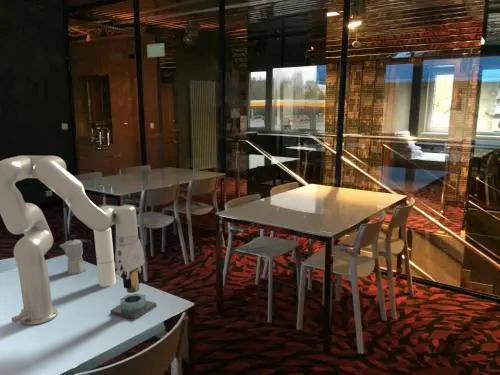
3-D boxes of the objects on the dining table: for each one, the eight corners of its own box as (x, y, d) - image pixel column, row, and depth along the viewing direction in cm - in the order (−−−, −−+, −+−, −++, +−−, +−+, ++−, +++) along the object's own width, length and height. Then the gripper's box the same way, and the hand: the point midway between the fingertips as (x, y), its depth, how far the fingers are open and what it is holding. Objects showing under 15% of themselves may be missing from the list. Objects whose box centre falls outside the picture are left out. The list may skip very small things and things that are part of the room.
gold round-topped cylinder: (133, 293, 159) (131, 273, 157) (124, 291, 161) (122, 271, 159) (141, 288, 163) (140, 269, 161) (132, 287, 165) (130, 267, 163)
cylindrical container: (110, 279, 195) (105, 226, 190) (119, 282, 190) (114, 228, 186) (95, 284, 189) (90, 229, 185) (104, 288, 185) (99, 232, 180)
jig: (135, 320, 155) (134, 308, 155) (110, 313, 161) (109, 302, 160) (156, 306, 166) (155, 295, 165) (132, 300, 171) (132, 290, 170)
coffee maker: (62, 276, 199) (57, 239, 196) (62, 270, 207) (58, 234, 204) (95, 271, 205) (92, 234, 202) (94, 265, 213) (91, 230, 210)
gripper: (118, 247, 149) (124, 296, 152) (151, 233, 164) (154, 278, 167) (103, 244, 153) (108, 292, 156) (136, 231, 167) (140, 276, 171)
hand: (132, 284), depth 161 cm, fingers closed on gold round-topped cylinder, 4 cm apart
